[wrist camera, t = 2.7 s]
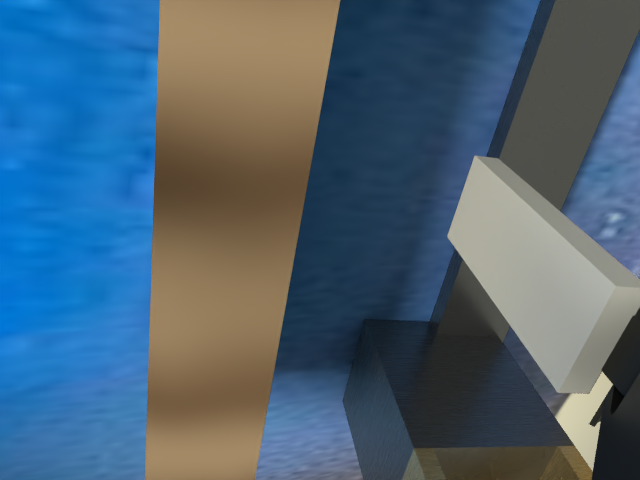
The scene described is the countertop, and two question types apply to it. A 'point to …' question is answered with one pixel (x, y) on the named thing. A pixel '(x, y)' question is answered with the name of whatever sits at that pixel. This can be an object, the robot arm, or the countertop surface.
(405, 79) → the countertop surface
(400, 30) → the countertop surface
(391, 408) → the bracket stand
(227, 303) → the rail
